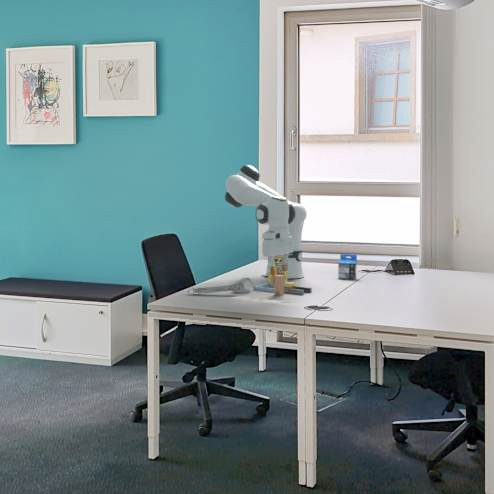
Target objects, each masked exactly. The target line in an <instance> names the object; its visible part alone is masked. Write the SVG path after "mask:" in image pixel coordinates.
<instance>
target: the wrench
mask: <svg viewBox="0 0 494 494" xmlns="http://www.w3.org/2000/svg"><path fill="white" fill-rule="evenodd" d="M246 283H250V284H253V283H254V282H253V279H252V278H250V277H248V276H244V277H241V278H240V279H238V280H237V281H235V282H233V283H230V284H219V285H212V286H211V285H210V286H201V287H194V288H193V287H190V288H188V290H187V294H188V293H190V290H192V291H193V293H205V294H213V293H221V292H234V293H251V291H252V289H251V288H248V287H246V286H245V284H246Z"/></svg>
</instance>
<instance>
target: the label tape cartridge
mask: <svg viewBox="0 0 494 494" xmlns="http://www.w3.org/2000/svg"><path fill="white" fill-rule="evenodd" d="M357 257H358V256H357V254H347V253H346V254H344V253H340V257H339V261H338V267H337V269H338V270H337V271H338V273H337V275H338V276H337V277H338V279H343V280H345V279H346V280H357V269H358V268H357V265H358V264H357V262H358V260H357Z"/></svg>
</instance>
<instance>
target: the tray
mask: <svg viewBox="0 0 494 494" xmlns="http://www.w3.org/2000/svg"><path fill="white" fill-rule="evenodd" d="M252 289H253V291H259V292H266V293H267V292H268V293H274V284H272V283H268V282H267V283H262V284H258V285H255V286H253V287H252Z"/></svg>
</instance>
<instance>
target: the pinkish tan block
mask: <svg viewBox="0 0 494 494" xmlns="http://www.w3.org/2000/svg"><path fill="white" fill-rule="evenodd" d="M273 289H274V292H273V293H274V294H273V295H275V296H283V295H285V293H284V275H275V283H274V287H273Z"/></svg>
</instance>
